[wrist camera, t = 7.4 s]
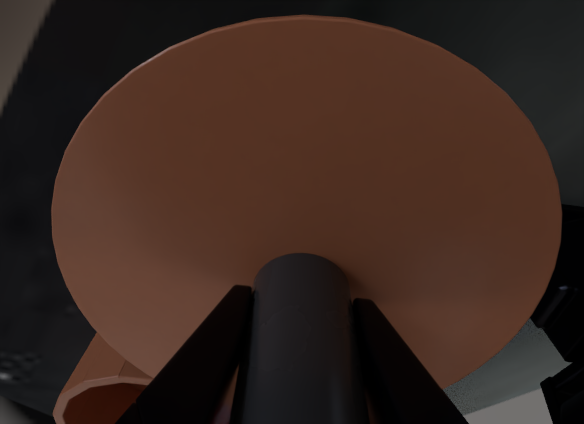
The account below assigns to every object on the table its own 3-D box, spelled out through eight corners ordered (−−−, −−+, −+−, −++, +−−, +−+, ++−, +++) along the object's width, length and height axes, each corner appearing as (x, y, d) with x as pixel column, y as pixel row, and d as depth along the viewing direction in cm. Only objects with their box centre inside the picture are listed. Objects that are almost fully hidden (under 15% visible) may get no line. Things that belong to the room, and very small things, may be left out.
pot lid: (648, 58, 7) (1213, 172, 3) (440, 404, 13) (505, 604, 9) (17, -31, 7) (-553, -72, 2) (112, 371, 13) (14, 565, 8)
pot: (256, 310, 24) (244, 388, 19) (246, 404, 30) (236, 480, 25) (85, 292, 24) (32, 368, 19) (110, 391, 29) (74, 467, 25)
